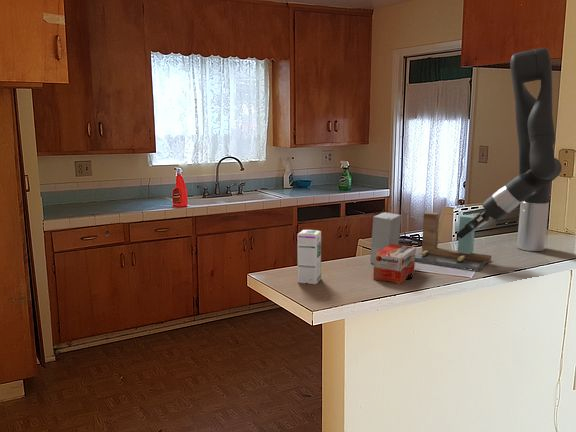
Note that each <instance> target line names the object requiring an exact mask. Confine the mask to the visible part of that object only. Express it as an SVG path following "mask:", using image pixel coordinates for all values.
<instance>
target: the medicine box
mask: <svg viewBox="0 0 576 432" xmlns="http://www.w3.org/2000/svg"><path fill="white" fill-rule="evenodd" d="M416 247H417V246H410V245H403V244H402V245H401V244H399V245H396V244H390V245H388V246H387V247H385V248H383V249H382V250H380V251H379V252H377V253H375V257H374V264H373V281H379V282H381V281H382V282H389V283H393V284H398V285H400V284H401V283H403V282H404V281H405V280H406V279H407V278H408V277H407V276H408V274H409V273H412V274H414V273H415V263H416V261H415V255H417V253H416V251H417V248H416ZM406 277H407V278H406Z"/></svg>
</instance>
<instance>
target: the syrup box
mask: <svg viewBox="0 0 576 432" xmlns="http://www.w3.org/2000/svg"><path fill="white" fill-rule="evenodd" d="M296 236H297V237H296V238H297V249H296V251H297V258H296V259H297V260H296V261H297V283H299V284H305V283H308V285H317V284H318V283H319V282H320V280H321V279H322V230H318V229H302V230H301V231H300V232H298V233H297V235H296Z"/></svg>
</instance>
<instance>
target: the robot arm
mask: <svg viewBox="0 0 576 432" xmlns="http://www.w3.org/2000/svg"><path fill="white" fill-rule="evenodd" d="M509 63H510V66H509V67H510V74H511V75H510V76H511V82H512V88H513V95H514V105H515V106H514V107H515V122H516V123H515V124H516V125H515V126H516V132H517V133H516V134H517V143H518V175H516V176H515V177H513V178H512V179H511V180H510V181H509V182H507V183H506V184H505V185H502V186H501V188H499V189H497V190H496V191H495V192H494V193H493V194H491V195H490V196H489V197H488V198H486V199H485V200H484V201H483V202H482V208H483V209H484V211H483V210H481V211H479V212H477V214H476V215H474V216H475V217H474V218H472V219H471V220H470V222H469V223H468V224H466V225H465V227H464V228H463V229H461V230H460V231H459V230H458V231H457V232H456V236H458V237H459V238H463V237H464V236H465V235H467V234H468V233H469V232H472V230H474V229H475V230H478V229H479V228H480V227H483V226H484V225H485V224H487V223H489V222H490V221H491V219H490V218H492V219H493V220H495V221H500V220H502V219H503V218H504V217H506V216H507V215H508V214H510V213H511V212H512V211H513V210H515V209H516V208H517V207H518V206H519V205H520V207H519V216H518V217H519V218H518V230H517V240H516V248H517V249H519V250H523V251H528V252H543V251H545V248H546V240H547V239H546V238H547V229H548V219H549V217H548V216H549V208H550V207H549V205H550V196H551V188H552V187H551V186H552V182H553V181H554V180H555V179H556V178H558V177H559V175H560V174H561V172H562V169H563V168H562V166H563V165H562V163H561V161H560V160H559V159H558V158H556V157H555V153H554V151H555V150H554V146H555V144H556V133H555V126H554V118H553V117H554V115H553V72H552V58H551V54H550V51H549V50H548V48H546V47H540V48H535V49H530V50H526V51H525V50H524V51H519V52H517V53H516V52H515V53H514V54H513V55H511V58H510V62H509ZM534 81H540V89H539V92H538V95H537V97H534V96H533V95H532V94H531V93H530V91H529V90H528V88H527V87H526V85H525V84H526V83H528V82H534ZM470 224H472V225H473V226H474V227H473V228H471V227H470V226H469V225H470Z"/></svg>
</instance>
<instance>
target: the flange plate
mask: <svg viewBox="0 0 576 432" xmlns="http://www.w3.org/2000/svg"><path fill="white" fill-rule="evenodd" d="M421 253H422V251H420V252H418V253H416V254H415V263H416V262H417V263H422V264H428V263H429V264H430V265H435V266H441V265H442V266H443V267H447V266H451V267H450V268H454V267H457V268H456V269H460V268H465V269H464V270H466V269H472V270H471V271H473V270H475V272H478V271H479V270H480V269H481V268H483V266H485V265H486V264H487V263H488V262H485V261H478V260H471V259H463V260H462V261H458V257H451V256H444V255H437V254H430V253H428V254H426V255H424V256H422V255H421ZM485 263H486V264H485ZM484 264H485V265H484Z"/></svg>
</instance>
